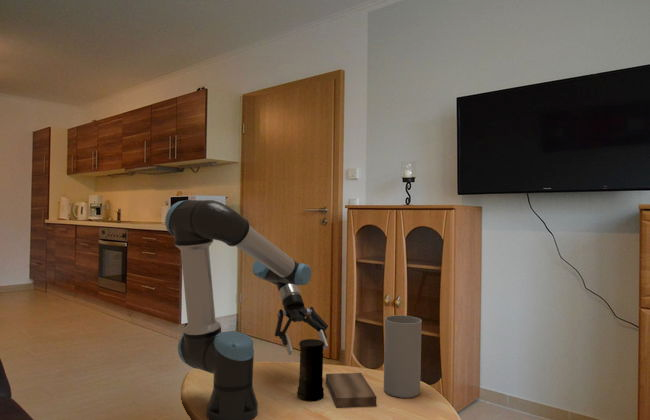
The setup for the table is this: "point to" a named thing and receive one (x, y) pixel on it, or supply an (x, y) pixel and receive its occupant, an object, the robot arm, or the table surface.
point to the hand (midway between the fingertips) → (308, 350)
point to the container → (311, 370)
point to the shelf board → (350, 390)
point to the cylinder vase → (402, 356)
